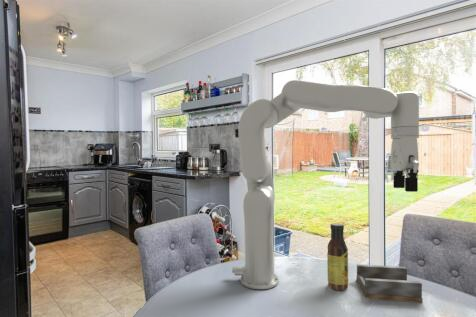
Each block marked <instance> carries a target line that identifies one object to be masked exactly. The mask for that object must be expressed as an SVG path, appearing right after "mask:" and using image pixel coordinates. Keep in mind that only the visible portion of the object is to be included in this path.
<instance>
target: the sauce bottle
mask: <svg viewBox="0 0 476 317" xmlns="http://www.w3.org/2000/svg"><path fill="white" fill-rule="evenodd" d="M344 230H345V226H344V224H343V223H337V222H335V223H334V222H333V223H330V231H331V232H330V235H331V236H330V240H329V242H328V243H327V258H326V259H327V281H328V282H327V285H328V287H329V288H330V289H333V290H336V291H345V290H347V289H348V288H349V249H348V247H347V244H346V241H345V238H344V237H345V236H344Z"/></svg>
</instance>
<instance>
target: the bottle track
mask: <svg viewBox="0 0 476 317" xmlns="http://www.w3.org/2000/svg"><path fill="white" fill-rule="evenodd" d="M407 269H408V268H407V267H406V266H398V265H397V266H392V265H372V264H356V281H357V283H358V285H359V287H360V289H361V291H362V293H363V295H364V297H365V298H366V300H367V299H368V300H381V301H395V302H396V301H397V302H408V303H409V302H411V303H423V293H422V292H423V283H422V282H421V281H419V280H418V281H417V280H408V270H407Z"/></svg>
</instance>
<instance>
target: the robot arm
mask: <svg viewBox="0 0 476 317" xmlns="http://www.w3.org/2000/svg"><path fill="white" fill-rule="evenodd" d="M300 109H303V110H304V109H305V110H306V109H307V110H313V111H319V112H325V113H337V112H344V111H350V112H351V111H353V112H354V111H355V112H363V114H364V115H365V116H366V117H368V118H369V119H376V120H377V119H384V118H390V140H392V141H391V148H390V149H391V150H390V169H391V170H393V173H392V175H393V184H392V185H393V189H404V191H405V192H406V193H407V192H408V193H409V192H418V191H419V190H418V188H419V187H418V186H419V185H418V183H419V182H418V181H419V180H418V178H419V174H418V173H419V166H420V163H419V145H418V144H419V143H418V139H419V138H420V96H419V94H418V93H417V92H415V91H402V92H396V93H394V92H393V91H392V90H390V89H388V88H383V87H376V86H368V85H360V84H359V85H358V84H354V85H352V84H351V85H350V84H349V85H346V84H338V85H337V84H329V83H328V84H327V83H319V82H312V81H303V80H289V81H287V82H286V83H285V84H284V85H283V87H282V89H281V92H280V93H279V94H278V95H276V96H274V98H272V99H270V100H269V99H266V98H261V99H257V100H255V101H253V102H251V103H250V104H249V105H247V107H246V108H245V109H244V110H243V112H242V113H241V115H240V118H239V122H238V129H237V130H238V133H237V134H238V142H239V154H240V164H241V166H240V167H241V173H242V176H243V177H244V178H245V180H246V185H247V186H246V187H247V191H246V194H245V195H244V197H243V198H244V199H243V207H242V208H243V217H244V218H243V220H244V221H243V222H244V266H241V267H236V266H233V267H232V270H231V271H232V274H234V276H240V283H241V285H242V286H244V287H246V288H248V289H252V290H253V289H254V290H269V289H272V288H275V287H276V286H278V284H279V281H280V280H279V276H277V275H276V274H275V270H274V269H275V262H274V261H275V260H274V257H275V256H274V254H275V253H274V249H275V248H274V245H275V244H274V241H275V240H274V204H275V187H274V180H273V170H272V165H271V162H270V160H269V158H268V157H267V152H266V138H265V129H270V128H272V127H276V126H277V125H278V124H279V123H281V122H282V121H284V120H286V119H287V118H289V117H290V116H292V115H294V114H295V113H296V112H297V111H299V110H300ZM404 173H405V175H404Z"/></svg>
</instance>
